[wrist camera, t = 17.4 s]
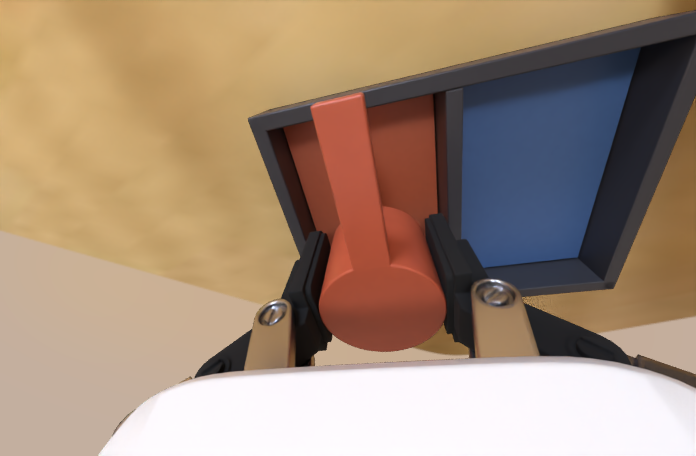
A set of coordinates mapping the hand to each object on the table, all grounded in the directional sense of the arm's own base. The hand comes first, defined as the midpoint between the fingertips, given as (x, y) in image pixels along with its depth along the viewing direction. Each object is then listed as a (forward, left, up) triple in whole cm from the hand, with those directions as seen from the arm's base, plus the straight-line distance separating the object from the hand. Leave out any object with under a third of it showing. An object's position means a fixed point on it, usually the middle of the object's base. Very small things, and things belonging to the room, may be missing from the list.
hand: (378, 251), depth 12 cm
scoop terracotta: (0, +2, 0) cm, 2 cm away
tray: (+4, +1, -3) cm, 5 cm away
